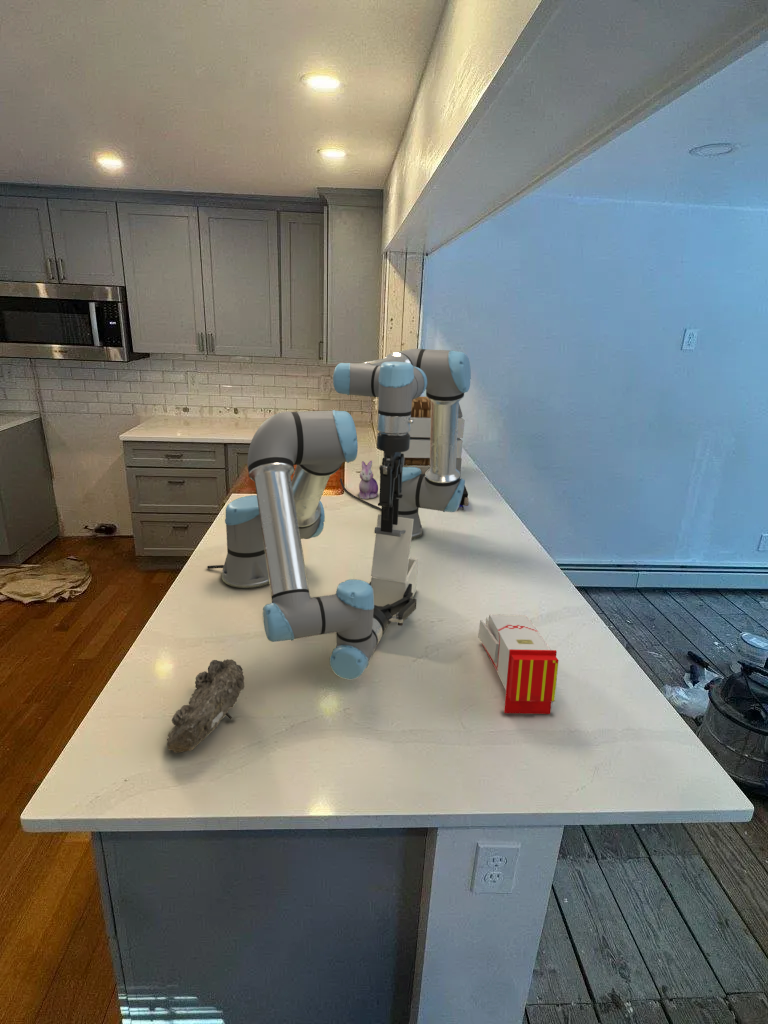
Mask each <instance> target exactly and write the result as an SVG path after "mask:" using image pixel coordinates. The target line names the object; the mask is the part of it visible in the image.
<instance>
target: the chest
mask: <svg viewBox="0 0 768 1024" xmlns="http://www.w3.org/2000/svg"><path fill="white" fill-rule="evenodd" d="M418 569H419V558H413V557H409V563H408V571H407V579H406V582H403V581H397V580H391V579H384V578H378V577H372V576H370V582H371V587H372V588H373V595H374V605H377V606H385V605H387V604H392V603H394V602H396V601H398V600H400V599H402V598H403V595H404V593H405V591H406V589H407V587H408V585H409V584H412V593H413V597H414V596H415V594H416V592H417V585H418V584H417V582H418V571H419V570H418ZM395 615H396V614H395ZM395 615H393V616H395Z"/></svg>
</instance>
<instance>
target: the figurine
mask: <svg viewBox="0 0 768 1024" xmlns="http://www.w3.org/2000/svg"><path fill="white" fill-rule="evenodd" d="M372 466H373V460H369V461H368V463H367V464H366V462H365V461H364V460H362V461H361V471H360V472H359V478H360V482H359V484H358V490H359V492H358V497H359V498H360V499H362V500H369V499H374V498H377V497H378V493H379V485H378V481H377V480H376V478H374V473H373V471H372Z"/></svg>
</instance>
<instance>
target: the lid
mask: <svg viewBox="0 0 768 1024" xmlns="http://www.w3.org/2000/svg"><path fill="white" fill-rule="evenodd" d="M413 522H414V519H409V518H402V517H398V524H397V525H393V529H392V533H390V532H383V531H381V513H380V514H378V515H377V522H376V526H375V527H374V532H373V533H374V534H375V536H374V537H375V538H374V547H373V554H372V555H373V556H372V564H371V570H370V571H371V572H370V577H378V578H384V579H391V580H397V581H403V582H406V579H407V571H408V563H409V558H410V554H411V546H412V545H411V544H412V539H411V538H412V530H413Z"/></svg>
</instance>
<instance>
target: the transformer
mask: <svg viewBox="0 0 768 1024" xmlns="http://www.w3.org/2000/svg"><path fill="white" fill-rule="evenodd" d="M410 419H412V420H413V423H412V424H410V431H409V432H408V433H409V435H410V445H409V450H407V451H405V452H401V453H403V454H404V459H403V467H405V466H406V467H417V466H418V467H430V427H431V401H430V400H429V399H428V398H427V397H426V396H419V397H418V398H416V399H413V400H412V408H411V417H410ZM464 429H465V419H464V418H463V411H462V408H461V405H460V404H459V409H458V430H457V452H456V469H457V470H458V471H459V472H460V475H461V472H462V461H463V460H462V453H463V442H464V441H463V440H462V439H463V438H464V431H465V430H464ZM384 455H385V452H384V451H383V456H384Z"/></svg>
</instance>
